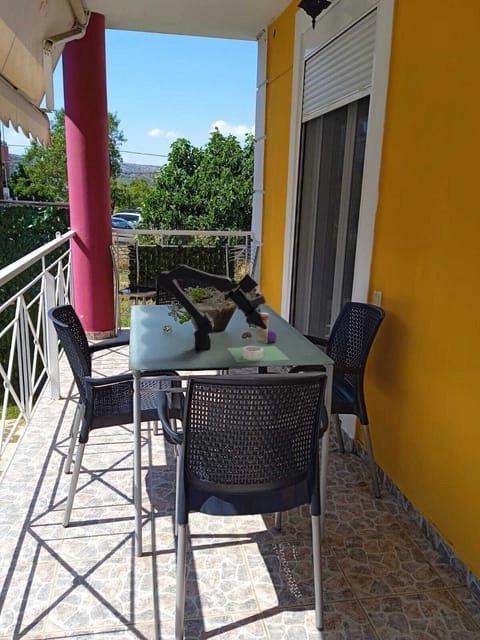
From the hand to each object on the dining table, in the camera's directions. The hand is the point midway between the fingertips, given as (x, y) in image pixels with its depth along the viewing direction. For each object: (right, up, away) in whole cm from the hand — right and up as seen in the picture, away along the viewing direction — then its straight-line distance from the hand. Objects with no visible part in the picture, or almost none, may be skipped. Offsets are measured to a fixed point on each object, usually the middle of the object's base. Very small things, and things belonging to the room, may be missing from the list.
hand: (266, 327), depth 199 cm
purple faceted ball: (+2, -6, +25) cm, 25 cm away
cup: (-6, -12, -7) cm, 15 cm away
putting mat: (-4, -12, -2) cm, 12 cm away
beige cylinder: (-2, -6, +2) cm, 7 cm away
